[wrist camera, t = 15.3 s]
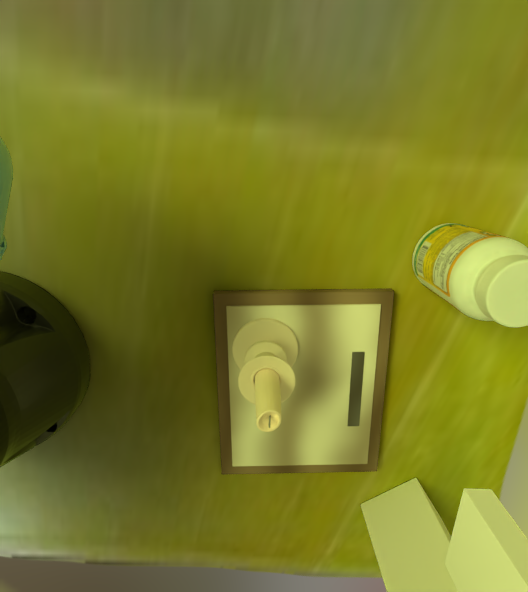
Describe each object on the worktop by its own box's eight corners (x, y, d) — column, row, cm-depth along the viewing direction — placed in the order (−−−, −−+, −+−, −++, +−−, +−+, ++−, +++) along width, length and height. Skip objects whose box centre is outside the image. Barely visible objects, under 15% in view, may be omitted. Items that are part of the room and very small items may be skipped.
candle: (301, 320, 32) (321, 390, 22) (293, 379, 33) (309, 469, 23) (234, 314, 31) (225, 383, 22) (230, 374, 33) (219, 463, 23)
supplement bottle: (397, 248, 31) (456, 283, 22) (460, 207, 30) (548, 225, 21) (430, 302, 32) (499, 355, 23) (491, 264, 32) (586, 304, 22)
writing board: (222, 467, 37) (221, 476, 36) (214, 290, 32) (212, 294, 31) (374, 464, 37) (377, 473, 36) (390, 288, 32) (395, 292, 31)
